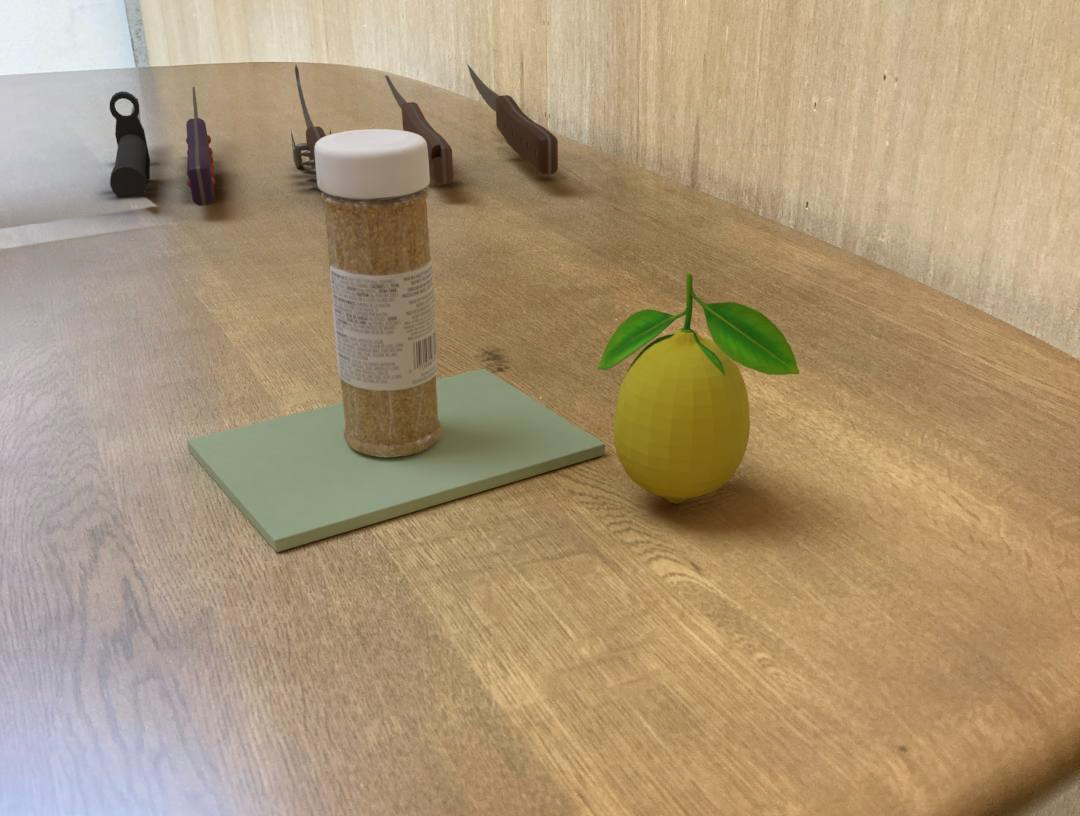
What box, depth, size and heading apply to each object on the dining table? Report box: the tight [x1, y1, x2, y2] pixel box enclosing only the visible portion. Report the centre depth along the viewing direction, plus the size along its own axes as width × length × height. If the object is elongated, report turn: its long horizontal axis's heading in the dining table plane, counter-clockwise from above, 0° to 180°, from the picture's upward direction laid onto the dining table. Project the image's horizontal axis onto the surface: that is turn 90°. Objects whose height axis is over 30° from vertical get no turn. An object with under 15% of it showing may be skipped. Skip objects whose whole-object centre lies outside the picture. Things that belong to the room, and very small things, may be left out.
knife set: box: [109, 63, 559, 207], centre depth 101 cm, size 35×33×8 cm
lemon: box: [597, 273, 800, 505], centre depth 46 cm, size 7×6×10 cm
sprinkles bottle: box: [314, 128, 441, 457], centre depth 49 cm, size 5×5×13 cm
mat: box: [186, 368, 606, 553], centre depth 53 cm, size 16×11×1 cm
